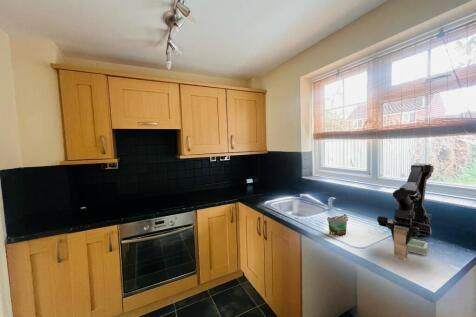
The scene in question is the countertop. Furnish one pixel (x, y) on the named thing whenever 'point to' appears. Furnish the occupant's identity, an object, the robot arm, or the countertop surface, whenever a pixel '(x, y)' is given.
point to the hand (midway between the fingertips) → (399, 242)
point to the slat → (400, 242)
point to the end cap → (417, 247)
